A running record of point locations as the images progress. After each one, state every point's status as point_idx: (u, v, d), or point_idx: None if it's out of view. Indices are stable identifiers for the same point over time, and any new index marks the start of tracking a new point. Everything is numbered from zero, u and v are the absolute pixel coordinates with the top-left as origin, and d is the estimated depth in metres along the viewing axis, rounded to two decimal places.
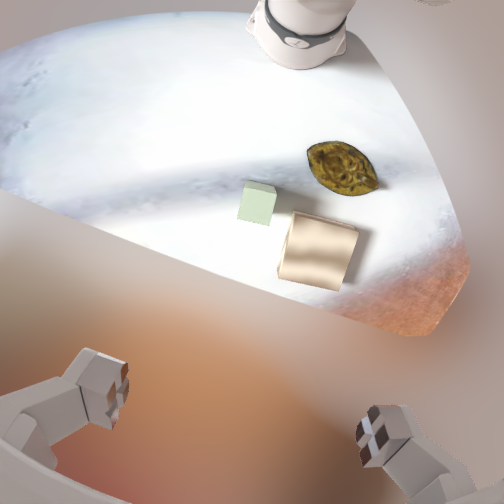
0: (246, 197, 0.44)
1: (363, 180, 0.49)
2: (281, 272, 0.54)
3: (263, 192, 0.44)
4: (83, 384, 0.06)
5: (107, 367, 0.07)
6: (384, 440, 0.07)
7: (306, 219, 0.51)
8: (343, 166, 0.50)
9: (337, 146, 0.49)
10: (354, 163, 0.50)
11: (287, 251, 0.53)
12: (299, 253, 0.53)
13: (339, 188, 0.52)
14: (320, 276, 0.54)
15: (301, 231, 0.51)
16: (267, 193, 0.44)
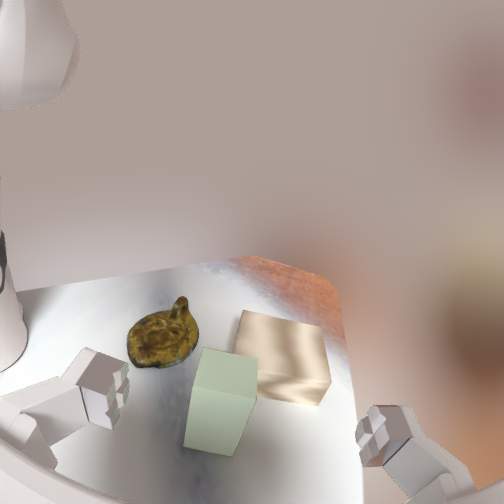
0: (212, 383, 0.22)
1: (178, 306, 0.41)
2: (321, 378, 0.32)
3: (201, 361, 0.24)
4: (83, 384, 0.06)
5: (107, 367, 0.07)
6: (384, 440, 0.07)
7: (236, 353, 0.34)
8: (160, 330, 0.39)
9: (134, 331, 0.37)
10: (157, 320, 0.40)
11: (288, 373, 0.32)
12: (287, 361, 0.34)
13: (189, 339, 0.40)
14: (310, 341, 0.39)
15: None
16: (202, 357, 0.24)
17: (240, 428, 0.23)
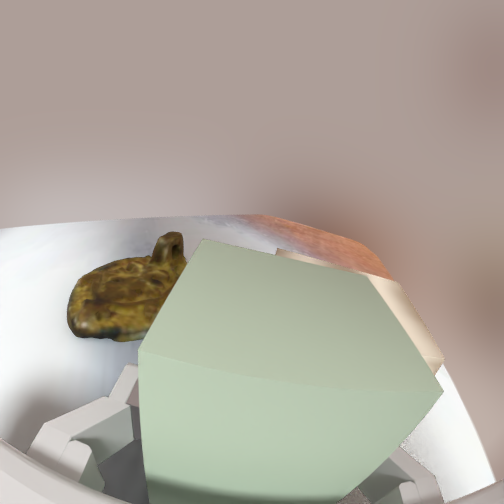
0: (243, 343, 0.04)
1: (165, 241, 0.25)
2: (428, 353, 0.15)
3: (193, 268, 0.06)
4: (134, 403, 0.06)
5: None
6: None
7: None
8: (131, 278, 0.22)
9: (85, 277, 0.20)
10: (129, 264, 0.24)
11: None
12: None
13: None
14: (390, 298, 0.22)
15: None
16: (198, 258, 0.07)
17: (329, 500, 0.05)
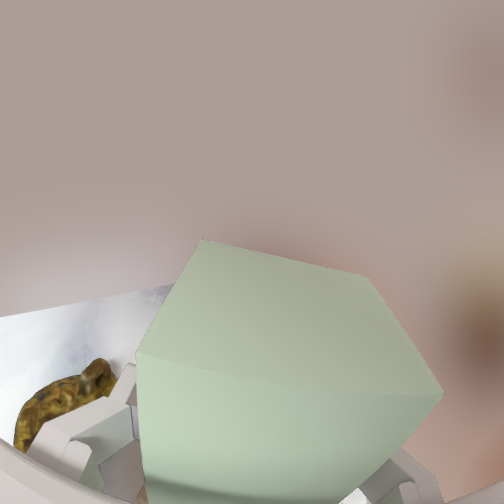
0: (242, 345, 0.04)
1: (86, 378, 0.21)
2: None
3: (191, 269, 0.06)
4: (134, 403, 0.06)
5: None
6: None
7: None
8: (61, 414, 0.19)
9: (23, 412, 0.17)
10: (60, 395, 0.20)
11: None
12: None
13: None
14: None
15: None
16: (197, 258, 0.07)
17: (329, 501, 0.05)
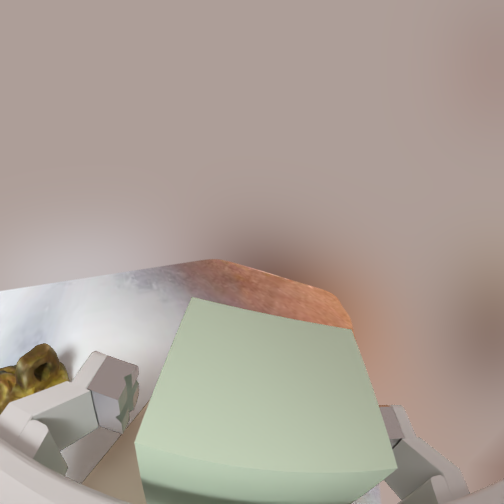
0: (221, 431, 0.05)
1: (23, 366, 0.14)
2: None
3: (180, 341, 0.07)
4: (94, 388, 0.06)
5: (118, 371, 0.07)
6: None
7: None
8: None
9: None
10: None
11: None
12: None
13: None
14: None
15: None
16: (186, 326, 0.07)
17: None
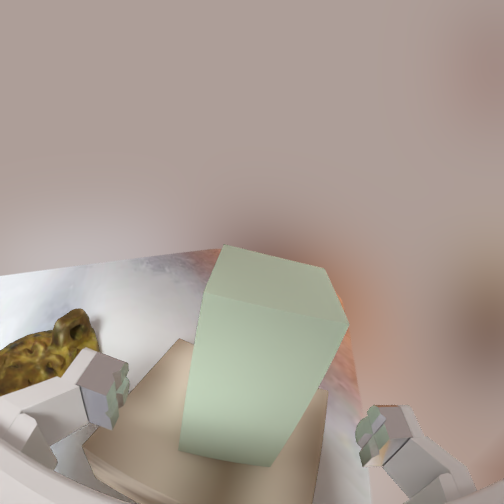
0: (248, 292, 0.10)
1: (60, 325, 0.20)
2: None
3: (221, 260, 0.12)
4: (83, 384, 0.06)
5: (107, 367, 0.07)
6: (384, 440, 0.07)
7: (103, 427, 0.13)
8: (29, 363, 0.17)
9: None
10: (32, 345, 0.19)
11: None
12: (211, 473, 0.12)
13: None
14: None
15: (136, 451, 0.12)
16: (223, 255, 0.13)
17: (298, 407, 0.11)
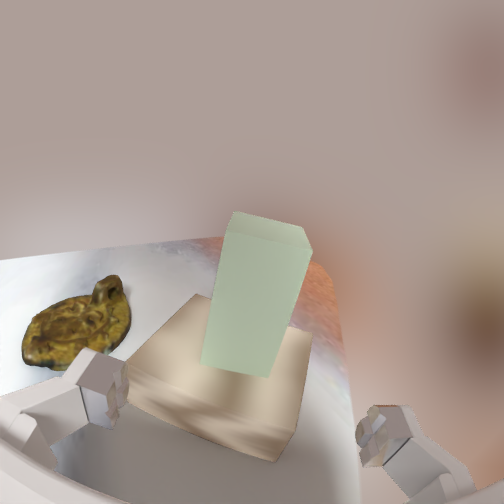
0: (251, 232, 0.17)
1: (101, 286, 0.27)
2: (276, 421, 0.16)
3: (233, 218, 0.19)
4: (83, 384, 0.06)
5: (107, 367, 0.07)
6: (384, 440, 0.07)
7: (141, 349, 0.20)
8: (72, 317, 0.24)
9: (37, 316, 0.22)
10: (74, 304, 0.26)
11: (214, 400, 0.17)
12: (223, 379, 0.19)
13: (109, 334, 0.25)
14: (284, 353, 0.23)
15: (167, 364, 0.19)
16: (235, 216, 0.20)
17: (285, 315, 0.18)
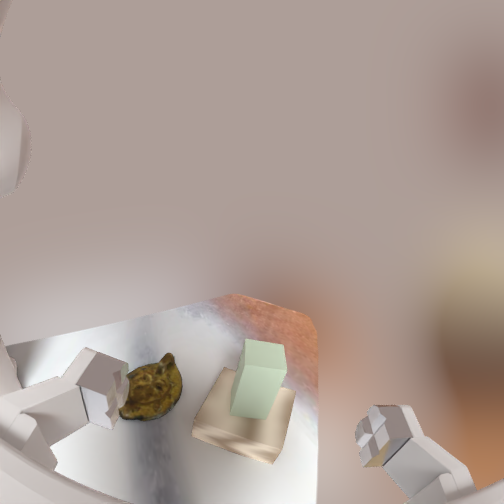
0: (257, 362, 0.33)
1: (163, 364, 0.43)
2: (273, 445, 0.32)
3: (246, 348, 0.35)
4: (83, 384, 0.06)
5: (107, 367, 0.07)
6: (384, 440, 0.07)
7: (201, 410, 0.35)
8: (146, 385, 0.40)
9: None
10: (144, 375, 0.42)
11: (242, 435, 0.33)
12: (246, 424, 0.35)
13: (172, 394, 0.41)
14: (277, 406, 0.39)
15: (216, 417, 0.35)
16: (246, 345, 0.36)
17: (274, 394, 0.34)
